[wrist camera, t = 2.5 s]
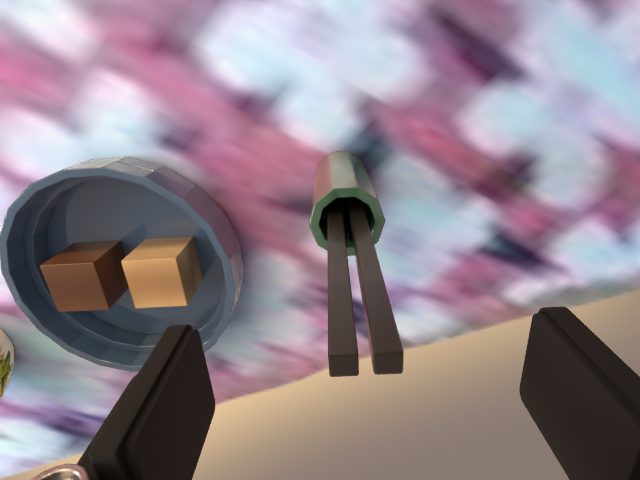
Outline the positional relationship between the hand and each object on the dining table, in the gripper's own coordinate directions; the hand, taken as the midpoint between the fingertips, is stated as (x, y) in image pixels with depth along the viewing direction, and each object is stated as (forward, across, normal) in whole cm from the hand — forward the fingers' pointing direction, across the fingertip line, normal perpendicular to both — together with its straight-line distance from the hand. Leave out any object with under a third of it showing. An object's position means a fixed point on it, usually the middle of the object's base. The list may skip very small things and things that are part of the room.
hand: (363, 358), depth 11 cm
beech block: (+19, +14, +6) cm, 25 cm away
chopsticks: (+20, 0, 0) cm, 20 cm away
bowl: (+20, +17, +6) cm, 27 cm away
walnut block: (+19, +20, +6) cm, 28 cm away
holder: (+20, 0, 0) cm, 20 cm away
